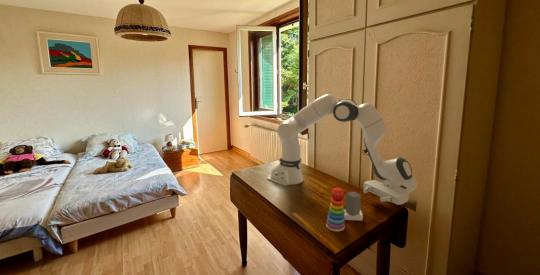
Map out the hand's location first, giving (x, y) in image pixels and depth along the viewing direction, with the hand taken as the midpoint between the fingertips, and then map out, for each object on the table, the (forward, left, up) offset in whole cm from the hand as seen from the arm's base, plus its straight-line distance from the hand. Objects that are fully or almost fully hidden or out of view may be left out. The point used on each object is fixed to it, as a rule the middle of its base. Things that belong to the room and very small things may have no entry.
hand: (372, 195), depth 117 cm
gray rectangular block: (-6, -11, -7) cm, 14 cm away
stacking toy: (-11, -21, -9) cm, 25 cm away
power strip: (-8, -11, -9) cm, 16 cm away
